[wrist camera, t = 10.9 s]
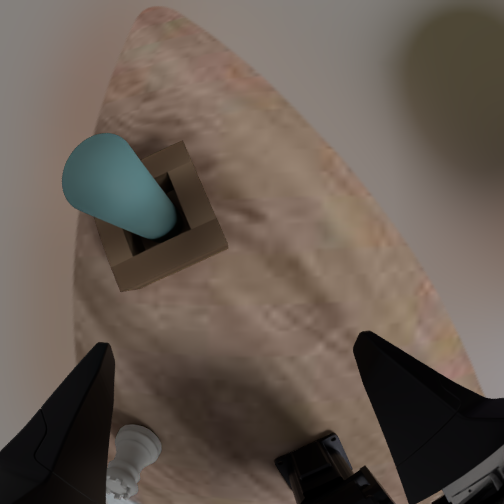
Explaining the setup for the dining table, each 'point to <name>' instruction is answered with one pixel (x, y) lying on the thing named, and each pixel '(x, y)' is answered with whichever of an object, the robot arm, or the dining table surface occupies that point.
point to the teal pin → (118, 189)
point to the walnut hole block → (177, 248)
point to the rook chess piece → (131, 459)
